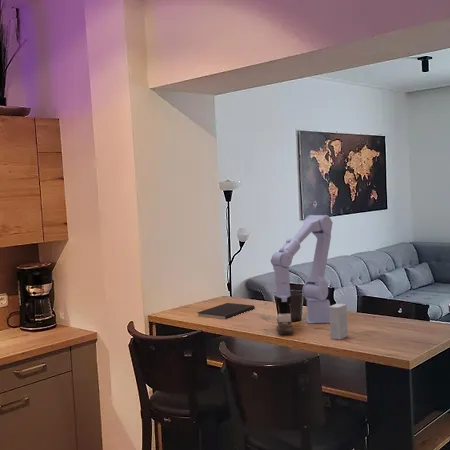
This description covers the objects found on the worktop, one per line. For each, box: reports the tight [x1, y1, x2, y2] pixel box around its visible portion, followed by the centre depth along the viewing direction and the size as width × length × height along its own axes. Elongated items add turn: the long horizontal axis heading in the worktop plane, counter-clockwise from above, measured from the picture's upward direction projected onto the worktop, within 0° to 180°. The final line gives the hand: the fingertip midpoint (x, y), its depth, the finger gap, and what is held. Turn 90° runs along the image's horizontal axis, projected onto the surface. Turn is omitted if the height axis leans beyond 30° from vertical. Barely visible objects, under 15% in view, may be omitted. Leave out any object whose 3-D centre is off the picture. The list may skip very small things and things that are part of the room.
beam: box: [276, 317, 294, 335], centre depth 227 cm, size 6×14×4 cm, turn 178°
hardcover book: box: [196, 302, 256, 320], centre depth 267 cm, size 16×23×2 cm
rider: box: [277, 312, 292, 324], centre depth 226 cm, size 5×4×3 cm
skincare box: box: [329, 303, 349, 341], centre depth 213 cm, size 6×4×12 cm
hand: (284, 316), depth 230 cm, fingers closed
